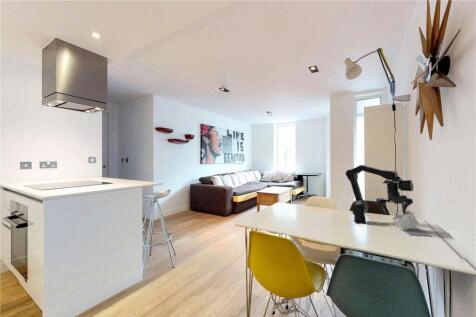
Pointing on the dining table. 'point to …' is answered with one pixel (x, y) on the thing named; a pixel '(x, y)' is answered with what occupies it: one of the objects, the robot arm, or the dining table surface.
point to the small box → (405, 220)
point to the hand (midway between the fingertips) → (395, 214)
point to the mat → (416, 232)
